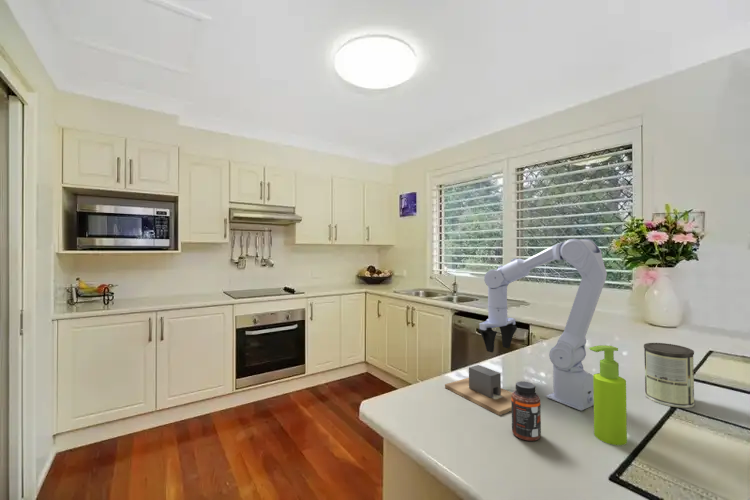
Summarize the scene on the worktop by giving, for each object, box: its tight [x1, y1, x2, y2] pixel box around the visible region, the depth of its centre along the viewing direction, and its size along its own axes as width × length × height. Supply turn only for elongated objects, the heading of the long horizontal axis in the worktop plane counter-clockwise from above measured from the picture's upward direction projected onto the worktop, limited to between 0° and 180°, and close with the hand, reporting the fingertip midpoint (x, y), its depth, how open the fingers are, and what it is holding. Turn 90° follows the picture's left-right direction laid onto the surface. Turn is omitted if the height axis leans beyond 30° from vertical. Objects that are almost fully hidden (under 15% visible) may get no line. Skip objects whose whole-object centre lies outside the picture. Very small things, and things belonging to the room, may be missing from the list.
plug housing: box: [468, 364, 502, 398], centre depth 96 cm, size 8×4×6 cm, turn 30°
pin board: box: [444, 377, 513, 416], centre depth 96 cm, size 20×12×3 cm, turn 30°
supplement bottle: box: [511, 380, 542, 442], centre depth 75 cm, size 6×6×11 cm
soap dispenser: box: [588, 344, 628, 446], centre depth 73 cm, size 6×7×20 cm
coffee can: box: [643, 342, 696, 409], centre depth 91 cm, size 10×10×14 cm
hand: (498, 349), depth 107 cm, fingers open, 7 cm apart
